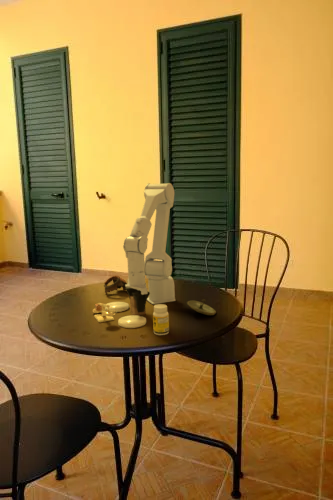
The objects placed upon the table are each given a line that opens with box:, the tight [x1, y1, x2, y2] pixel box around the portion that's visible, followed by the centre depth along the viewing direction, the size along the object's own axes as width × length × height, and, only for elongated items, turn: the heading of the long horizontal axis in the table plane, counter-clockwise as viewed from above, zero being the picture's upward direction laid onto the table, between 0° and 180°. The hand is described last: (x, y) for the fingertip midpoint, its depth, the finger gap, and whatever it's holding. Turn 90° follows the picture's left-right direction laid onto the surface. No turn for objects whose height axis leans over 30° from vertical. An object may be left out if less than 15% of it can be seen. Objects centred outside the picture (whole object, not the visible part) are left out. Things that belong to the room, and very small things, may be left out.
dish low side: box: [105, 301, 130, 313], centre depth 147 cm, size 9×9×1 cm
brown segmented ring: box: [103, 275, 128, 295], centre depth 167 cm, size 12×10×8 cm
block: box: [129, 296, 146, 316], centre depth 141 cm, size 4×4×6 cm
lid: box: [186, 298, 217, 316], centre depth 139 cm, size 11×10×5 cm
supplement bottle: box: [152, 303, 170, 336], centre depth 122 cm, size 5×5×8 cm
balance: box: [92, 302, 117, 323], centre depth 136 cm, size 5×17×6 cm, turn 24°
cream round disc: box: [117, 314, 147, 329], centre depth 132 cm, size 9×9×1 cm
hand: (137, 309), depth 141 cm, fingers open, 5 cm apart
